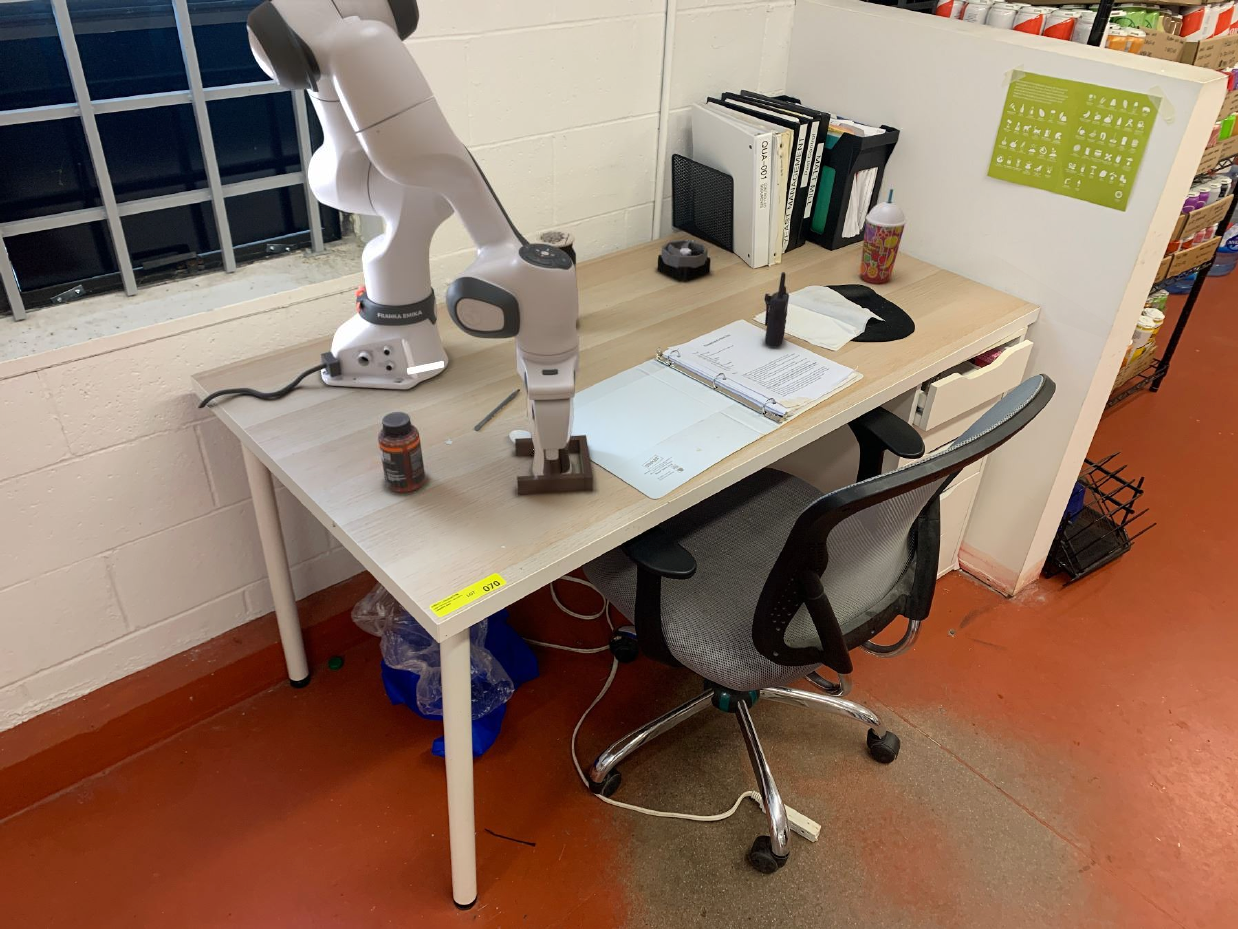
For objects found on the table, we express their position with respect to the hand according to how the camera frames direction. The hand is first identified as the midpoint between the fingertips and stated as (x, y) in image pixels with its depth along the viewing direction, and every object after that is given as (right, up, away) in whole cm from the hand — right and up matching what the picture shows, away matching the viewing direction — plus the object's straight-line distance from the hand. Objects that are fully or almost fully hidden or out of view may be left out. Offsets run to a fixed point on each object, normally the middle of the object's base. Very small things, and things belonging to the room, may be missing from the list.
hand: (550, 440), depth 137 cm
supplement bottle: (-22, -6, 0) cm, 23 cm away
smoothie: (+67, +38, +66) cm, 101 cm away
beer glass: (0, -5, +3) cm, 6 cm away
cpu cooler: (+25, +39, +67) cm, 82 cm away
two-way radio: (+40, +20, +40) cm, 60 cm away
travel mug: (-2, +24, +44) cm, 51 cm away
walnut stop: (0, -5, +3) cm, 6 cm away
